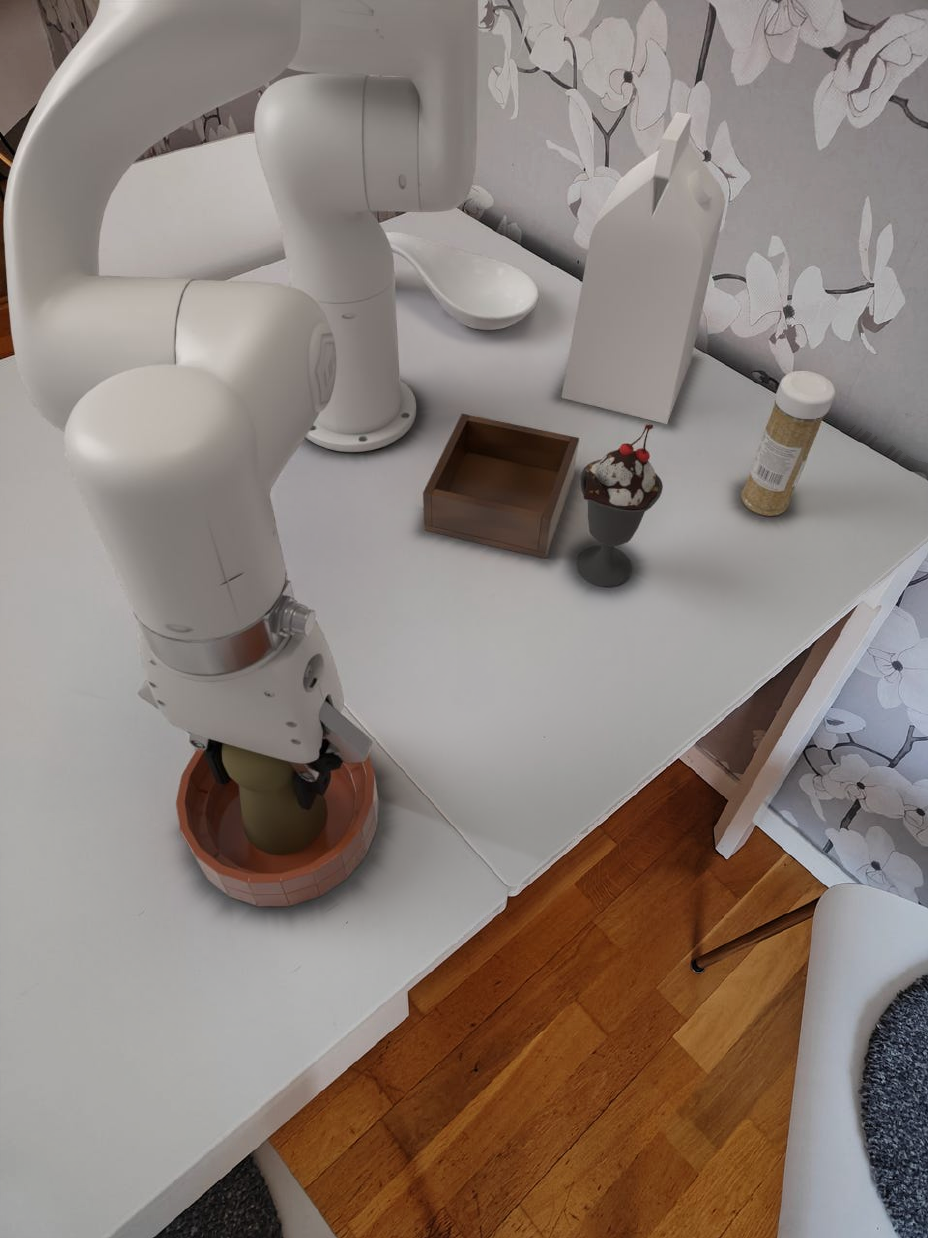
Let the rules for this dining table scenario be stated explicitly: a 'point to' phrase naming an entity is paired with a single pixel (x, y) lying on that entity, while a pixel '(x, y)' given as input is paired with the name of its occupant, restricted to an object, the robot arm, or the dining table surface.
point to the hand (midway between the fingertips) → (272, 776)
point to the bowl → (265, 877)
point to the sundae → (616, 509)
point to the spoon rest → (469, 282)
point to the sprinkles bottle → (787, 441)
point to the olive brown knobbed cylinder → (272, 803)
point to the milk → (646, 282)
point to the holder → (500, 485)
